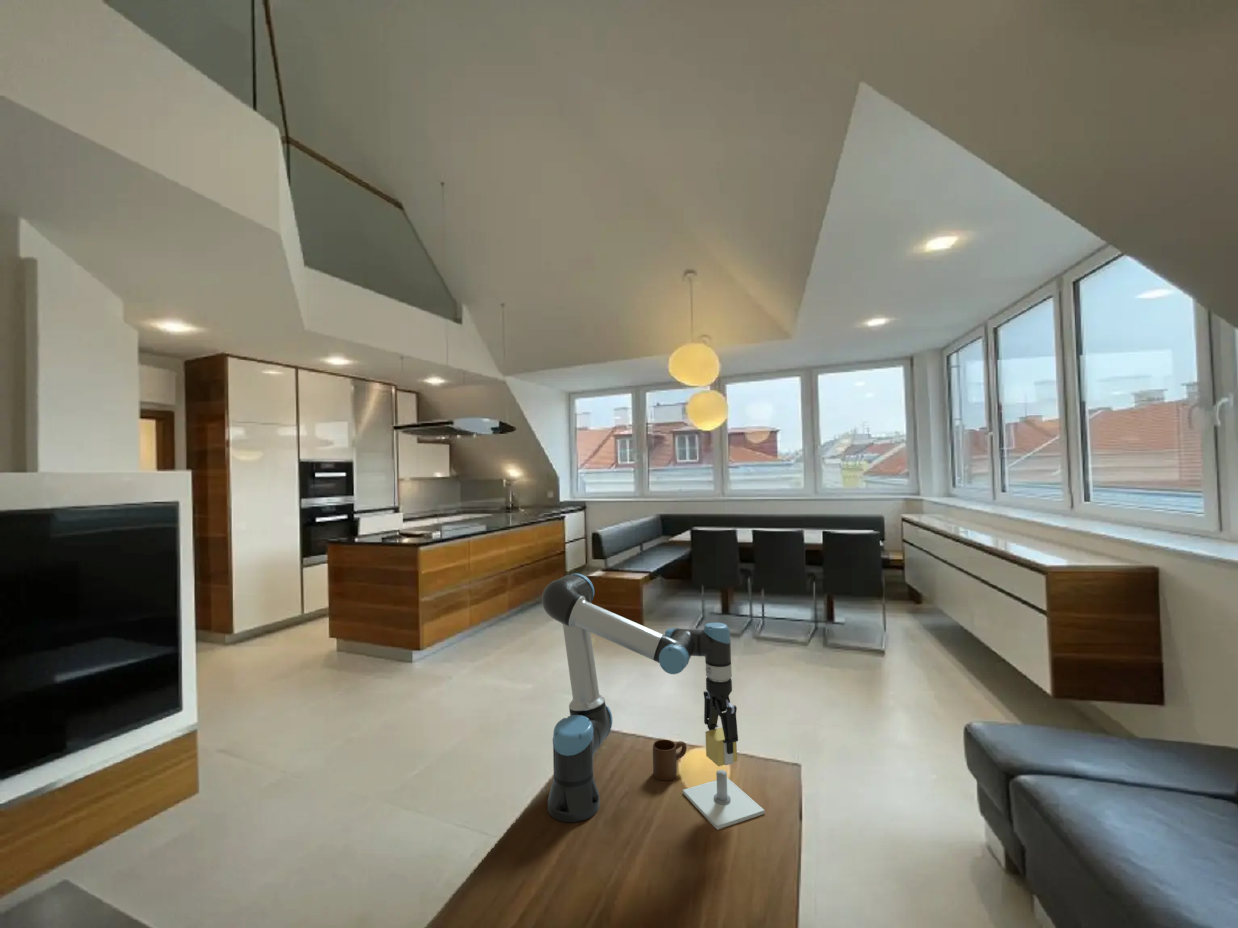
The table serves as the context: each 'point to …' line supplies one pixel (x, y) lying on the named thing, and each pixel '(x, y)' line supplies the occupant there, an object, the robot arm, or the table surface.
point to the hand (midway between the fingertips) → (721, 757)
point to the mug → (666, 758)
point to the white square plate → (723, 802)
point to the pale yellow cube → (717, 746)
